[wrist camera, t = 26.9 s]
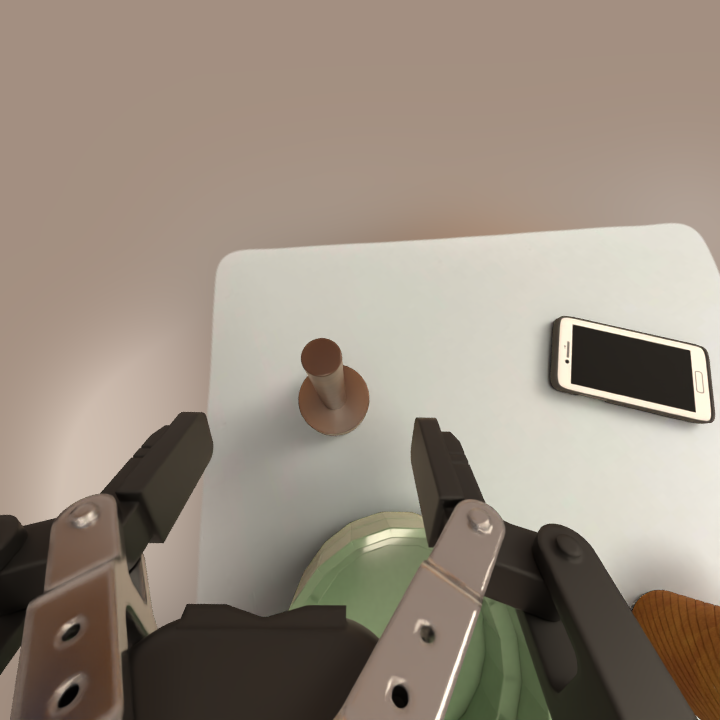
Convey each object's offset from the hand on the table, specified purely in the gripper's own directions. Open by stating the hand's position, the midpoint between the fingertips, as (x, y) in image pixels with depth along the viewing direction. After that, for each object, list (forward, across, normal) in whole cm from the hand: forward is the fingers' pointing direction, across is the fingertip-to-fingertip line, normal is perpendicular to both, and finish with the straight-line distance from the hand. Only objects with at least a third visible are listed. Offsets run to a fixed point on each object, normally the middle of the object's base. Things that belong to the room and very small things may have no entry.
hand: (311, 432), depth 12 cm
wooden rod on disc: (+14, 0, +9) cm, 16 cm away
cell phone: (+17, -28, +6) cm, 33 cm away
